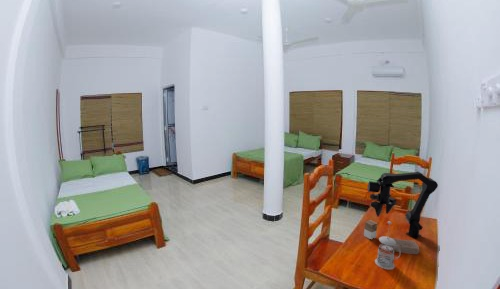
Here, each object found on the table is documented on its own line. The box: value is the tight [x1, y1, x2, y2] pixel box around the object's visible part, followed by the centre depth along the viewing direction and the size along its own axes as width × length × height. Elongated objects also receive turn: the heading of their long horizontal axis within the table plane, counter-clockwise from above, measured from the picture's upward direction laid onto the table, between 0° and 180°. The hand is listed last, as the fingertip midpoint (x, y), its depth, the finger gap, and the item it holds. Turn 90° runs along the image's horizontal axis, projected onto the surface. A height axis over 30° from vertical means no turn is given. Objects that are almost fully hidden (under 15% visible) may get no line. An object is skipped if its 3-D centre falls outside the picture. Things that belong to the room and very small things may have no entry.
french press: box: [374, 220, 402, 270], centre depth 139 cm, size 10×12×25 cm
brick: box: [391, 237, 420, 255], centre depth 155 cm, size 17×8×5 cm, turn 74°
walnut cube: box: [364, 219, 378, 232], centre depth 167 cm, size 5×5×5 cm
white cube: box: [363, 228, 377, 240], centre depth 168 cm, size 5×5×5 cm
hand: (382, 214), depth 172 cm, fingers open, 9 cm apart
